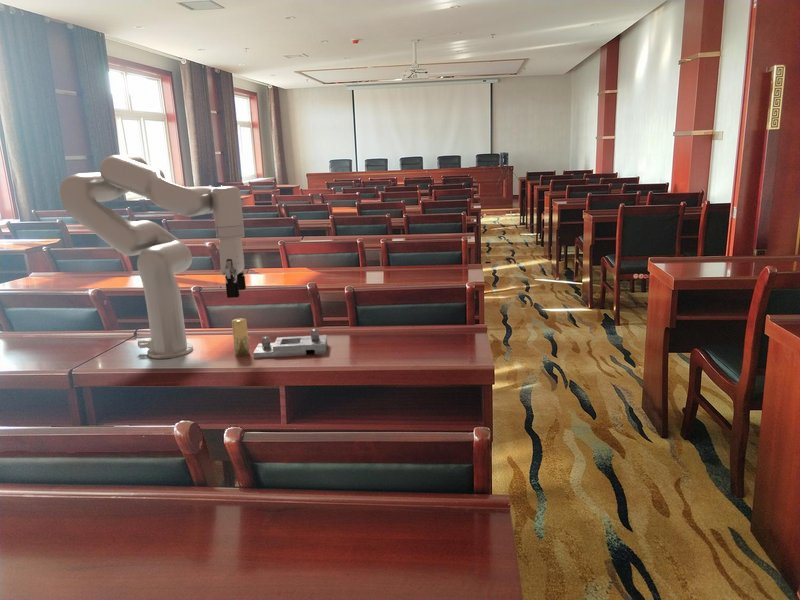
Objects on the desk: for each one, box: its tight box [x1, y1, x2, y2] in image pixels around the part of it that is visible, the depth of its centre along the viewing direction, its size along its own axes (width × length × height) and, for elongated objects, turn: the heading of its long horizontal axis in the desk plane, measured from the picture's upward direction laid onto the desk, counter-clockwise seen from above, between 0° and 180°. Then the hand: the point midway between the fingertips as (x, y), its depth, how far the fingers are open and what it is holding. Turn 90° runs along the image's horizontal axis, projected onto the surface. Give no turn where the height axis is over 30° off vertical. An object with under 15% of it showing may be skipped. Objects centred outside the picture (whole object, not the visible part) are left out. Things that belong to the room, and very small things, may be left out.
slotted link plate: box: [253, 335, 308, 359], centre depth 173 cm, size 14×9×4 cm, turn 94°
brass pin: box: [231, 318, 251, 357], centre depth 171 cm, size 4×4×10 cm
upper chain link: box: [273, 328, 328, 355], centre depth 173 cm, size 14×9×6 cm, turn 94°
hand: (236, 293), depth 168 cm, fingers open, 9 cm apart
